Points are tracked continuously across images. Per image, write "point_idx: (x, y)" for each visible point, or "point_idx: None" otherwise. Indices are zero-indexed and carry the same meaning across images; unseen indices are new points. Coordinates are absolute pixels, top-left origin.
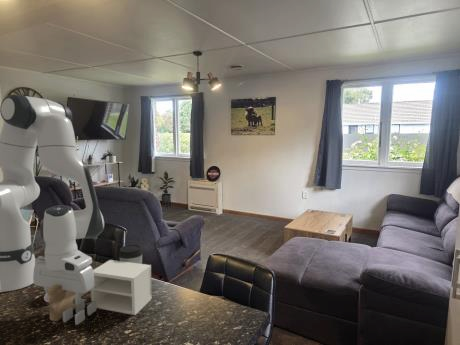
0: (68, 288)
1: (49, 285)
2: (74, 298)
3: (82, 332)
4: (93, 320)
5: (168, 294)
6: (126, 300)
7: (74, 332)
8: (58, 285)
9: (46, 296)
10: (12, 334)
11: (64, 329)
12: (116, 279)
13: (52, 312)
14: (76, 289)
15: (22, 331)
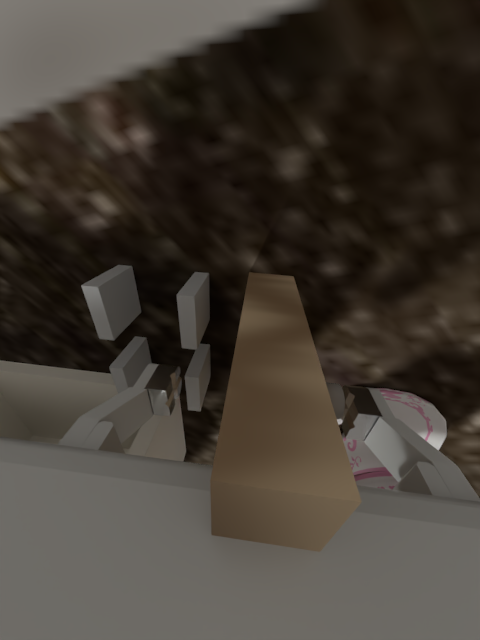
0: (116, 489)
1: (409, 529)
2: (162, 398)
3: (36, 212)
4: (86, 308)
5: None
6: (72, 418)
7: (72, 202)
8: (255, 537)
9: (432, 422)
10: (473, 51)
11: (146, 214)
12: None
13: (274, 294)
14: (2, 478)
15: (404, 119)
